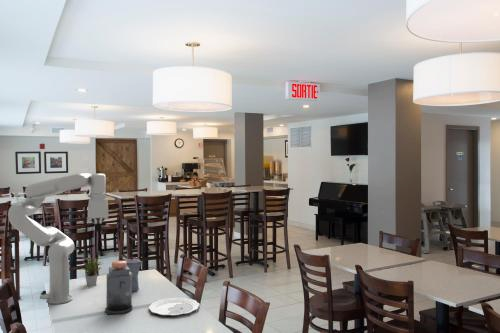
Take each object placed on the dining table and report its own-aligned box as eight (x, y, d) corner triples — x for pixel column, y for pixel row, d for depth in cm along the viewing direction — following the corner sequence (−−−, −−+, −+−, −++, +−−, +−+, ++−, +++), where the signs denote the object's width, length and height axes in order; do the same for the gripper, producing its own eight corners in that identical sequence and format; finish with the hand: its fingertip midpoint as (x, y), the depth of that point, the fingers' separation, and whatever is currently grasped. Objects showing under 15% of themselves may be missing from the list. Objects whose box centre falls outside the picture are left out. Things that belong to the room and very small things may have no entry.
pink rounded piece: (113, 276, 204) (113, 264, 204) (110, 273, 210) (110, 261, 210) (127, 274, 207) (128, 263, 207) (124, 271, 213) (124, 260, 213)
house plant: (98, 289, 242) (98, 261, 241) (74, 289, 242) (74, 261, 241) (107, 282, 256) (107, 255, 256) (84, 282, 256) (85, 255, 256)
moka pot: (138, 294, 234) (138, 258, 233) (113, 292, 237) (113, 257, 237) (146, 289, 243) (146, 254, 243) (121, 287, 246) (121, 253, 246)
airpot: (109, 319, 197) (109, 274, 197) (102, 306, 213) (102, 265, 213) (137, 314, 203) (137, 271, 203) (128, 302, 220) (128, 262, 219)
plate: (156, 322, 194) (156, 318, 194) (143, 305, 217) (143, 301, 217) (206, 313, 206) (206, 309, 206) (189, 298, 228) (189, 294, 228)
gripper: (83, 197, 216) (83, 233, 216) (113, 196, 223) (113, 231, 223) (82, 196, 223) (81, 230, 223) (111, 195, 230) (110, 228, 230)
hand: (97, 230), depth 223 cm, fingers closed
